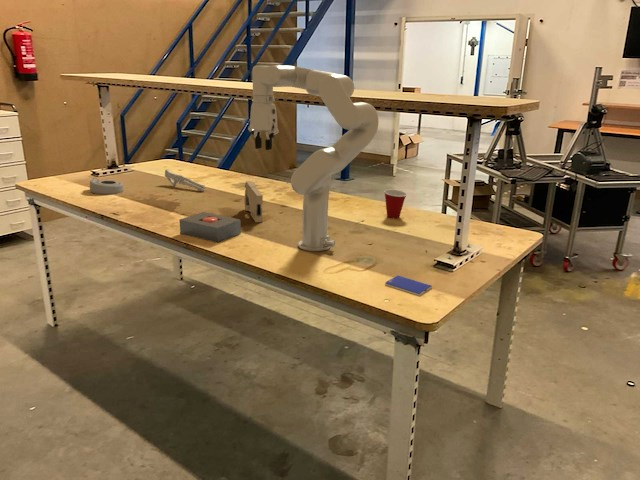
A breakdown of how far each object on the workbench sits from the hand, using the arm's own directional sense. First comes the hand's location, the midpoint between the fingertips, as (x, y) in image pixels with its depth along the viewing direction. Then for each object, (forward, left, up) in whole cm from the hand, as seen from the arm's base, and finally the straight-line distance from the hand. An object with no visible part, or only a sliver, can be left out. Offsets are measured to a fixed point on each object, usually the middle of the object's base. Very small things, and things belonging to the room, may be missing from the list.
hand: (263, 148), depth 199 cm
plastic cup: (-33, -57, -36) cm, 75 cm away
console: (+19, +11, -35) cm, 42 cm away
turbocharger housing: (+113, -12, -36) cm, 119 cm away
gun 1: (+86, -42, -36) cm, 102 cm away
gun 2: (+21, -20, -36) cm, 46 cm away
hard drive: (-69, +16, -36) cm, 79 cm away
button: (+19, +11, -32) cm, 39 cm away
